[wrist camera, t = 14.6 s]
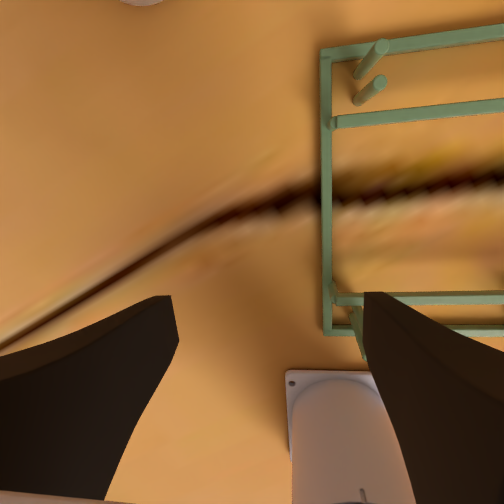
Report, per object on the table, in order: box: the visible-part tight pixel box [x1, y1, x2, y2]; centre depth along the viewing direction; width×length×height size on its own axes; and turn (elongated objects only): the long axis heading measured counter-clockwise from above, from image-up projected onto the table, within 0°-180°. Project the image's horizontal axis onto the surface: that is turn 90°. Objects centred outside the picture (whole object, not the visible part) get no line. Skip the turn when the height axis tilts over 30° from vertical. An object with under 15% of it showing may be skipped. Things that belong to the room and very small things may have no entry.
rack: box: [319, 23, 504, 361], centre depth 16 cm, size 18×14×4 cm
